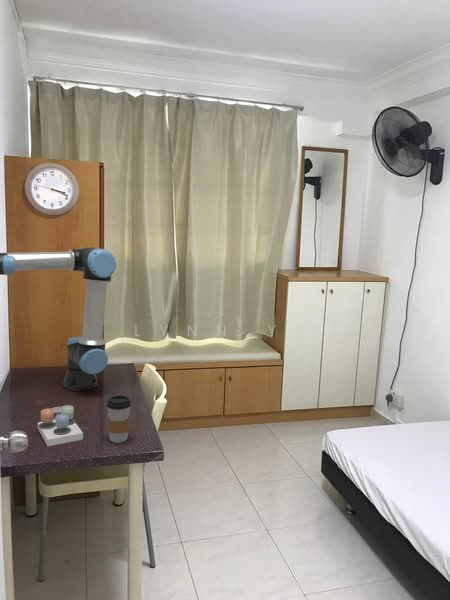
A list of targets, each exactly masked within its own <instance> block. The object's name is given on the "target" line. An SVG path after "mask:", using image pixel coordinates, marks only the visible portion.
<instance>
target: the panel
mask: <svg viewBox="0 0 450 600" xmlns="http://www.w3.org/2000/svg"><path fill="white" fill-rule="evenodd" d="M37 430H38V432H39V433H40V434H39V435H41V438H42V439H43V441H44V442H45V445H46V447H51V446H57V445H62V444H67V443H72V442H76V441H77V442H78V441H82V440H84V432H83V431H82V430H81V428H80V426H79V425H78V424H77V423H76V419H75V418H70V419H69V426H68V427H65V428H57V427H56V420H53V421H52V422H47V423H44V422H41V421H39V422H37Z"/></svg>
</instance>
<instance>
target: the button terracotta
mask: <svg viewBox="0 0 450 600" xmlns="http://www.w3.org/2000/svg"><path fill="white" fill-rule="evenodd" d="M51 408H52V407H51ZM51 408H49V407H48V408H47V407H45V408H43V409H41V410H40V422H44V423H47V422H52V421H53V420H54V418H55V417H54V416H55V413H54V409H51Z"/></svg>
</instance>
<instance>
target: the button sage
mask: <svg viewBox="0 0 450 600" xmlns="http://www.w3.org/2000/svg"><path fill="white" fill-rule="evenodd" d="M60 407H61V413H66V414H68V415H69V419H70V418H72V419H74V416H75V415H74V405H71V404H70V405H69V404H64V405H63V406H60ZM61 413H60V414H61Z"/></svg>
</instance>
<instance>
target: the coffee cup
mask: <svg viewBox="0 0 450 600" xmlns="http://www.w3.org/2000/svg"><path fill="white" fill-rule="evenodd" d="M106 402H107V403H106V407H107V425H108V435H109V441H110V442H111V443H113V444H122V443H125V442H126V441H127V440H128V438H129V429H130V418H131V407H132V403H131V402H132V401H131V399H130V397H129V396H127V395H112V396H110V397H109V398H108V401H106Z"/></svg>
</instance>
